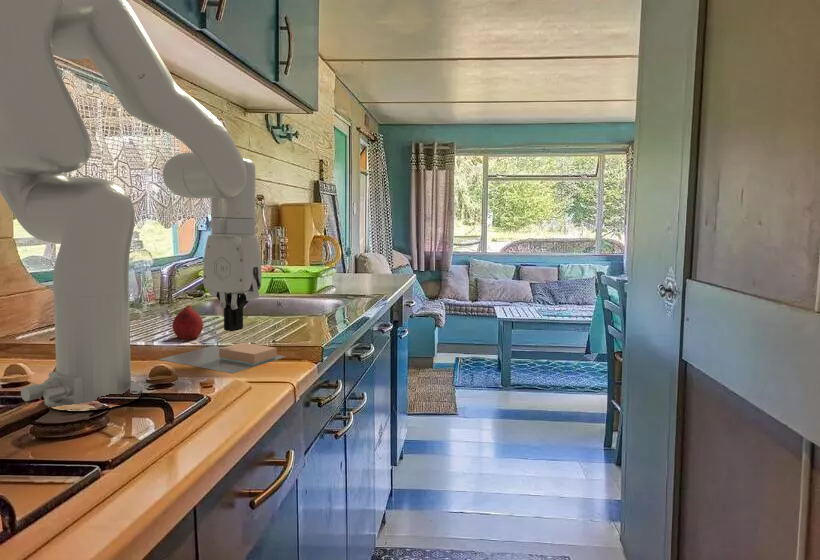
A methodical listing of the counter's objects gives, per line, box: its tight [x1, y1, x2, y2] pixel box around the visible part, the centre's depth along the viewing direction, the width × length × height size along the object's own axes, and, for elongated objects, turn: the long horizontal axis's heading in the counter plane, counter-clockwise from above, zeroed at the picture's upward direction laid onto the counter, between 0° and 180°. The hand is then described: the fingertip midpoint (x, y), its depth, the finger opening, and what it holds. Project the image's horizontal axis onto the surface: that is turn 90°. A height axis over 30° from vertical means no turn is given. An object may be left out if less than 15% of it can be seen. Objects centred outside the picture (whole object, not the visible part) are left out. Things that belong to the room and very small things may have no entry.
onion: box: [172, 304, 204, 340], centre depth 127 cm, size 6×6×8 cm
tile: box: [219, 342, 278, 365], centre depth 112 cm, size 6×2×8 cm
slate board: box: [157, 345, 287, 375], centre depth 112 cm, size 14×17×1 cm
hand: (233, 329), depth 113 cm, fingers closed
